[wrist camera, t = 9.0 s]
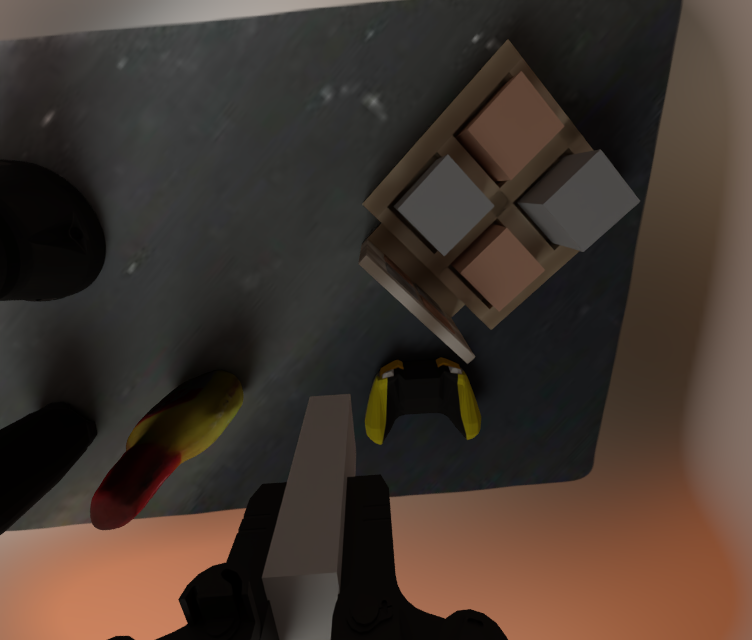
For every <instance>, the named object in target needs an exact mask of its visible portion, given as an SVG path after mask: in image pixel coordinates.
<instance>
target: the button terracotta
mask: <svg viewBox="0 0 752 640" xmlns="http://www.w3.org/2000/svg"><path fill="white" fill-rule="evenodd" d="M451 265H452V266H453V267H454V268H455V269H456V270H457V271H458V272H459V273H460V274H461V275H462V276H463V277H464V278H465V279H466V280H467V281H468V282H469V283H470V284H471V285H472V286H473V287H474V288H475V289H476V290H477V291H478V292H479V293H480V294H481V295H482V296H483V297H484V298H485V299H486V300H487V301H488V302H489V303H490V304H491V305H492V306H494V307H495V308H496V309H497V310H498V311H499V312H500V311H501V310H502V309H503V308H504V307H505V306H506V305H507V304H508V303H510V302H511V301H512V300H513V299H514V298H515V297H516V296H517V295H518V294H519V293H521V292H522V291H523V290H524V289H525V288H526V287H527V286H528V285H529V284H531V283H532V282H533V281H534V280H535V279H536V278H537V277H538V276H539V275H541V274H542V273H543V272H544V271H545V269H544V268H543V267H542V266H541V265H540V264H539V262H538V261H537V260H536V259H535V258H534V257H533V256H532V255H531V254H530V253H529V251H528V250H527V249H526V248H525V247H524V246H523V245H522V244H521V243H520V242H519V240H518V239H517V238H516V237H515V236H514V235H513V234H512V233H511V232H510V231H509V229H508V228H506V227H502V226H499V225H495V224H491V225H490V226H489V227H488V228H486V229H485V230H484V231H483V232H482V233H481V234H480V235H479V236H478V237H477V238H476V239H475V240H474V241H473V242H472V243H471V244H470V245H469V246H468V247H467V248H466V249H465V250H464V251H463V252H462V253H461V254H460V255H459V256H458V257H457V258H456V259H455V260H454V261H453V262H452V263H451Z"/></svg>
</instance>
